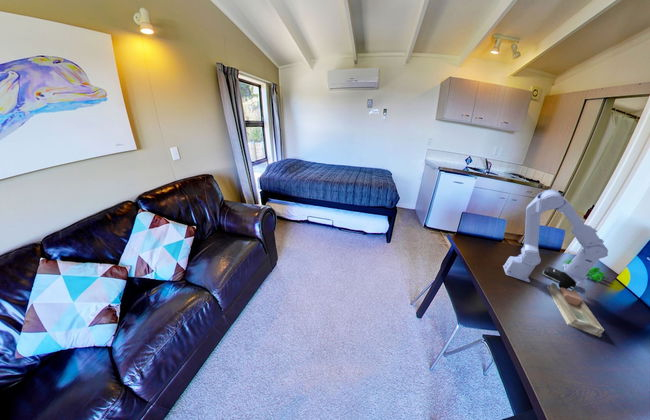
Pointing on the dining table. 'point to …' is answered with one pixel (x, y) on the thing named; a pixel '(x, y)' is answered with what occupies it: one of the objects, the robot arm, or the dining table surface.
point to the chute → (576, 313)
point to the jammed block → (571, 296)
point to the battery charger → (554, 275)
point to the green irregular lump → (593, 272)
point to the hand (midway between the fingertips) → (561, 288)
